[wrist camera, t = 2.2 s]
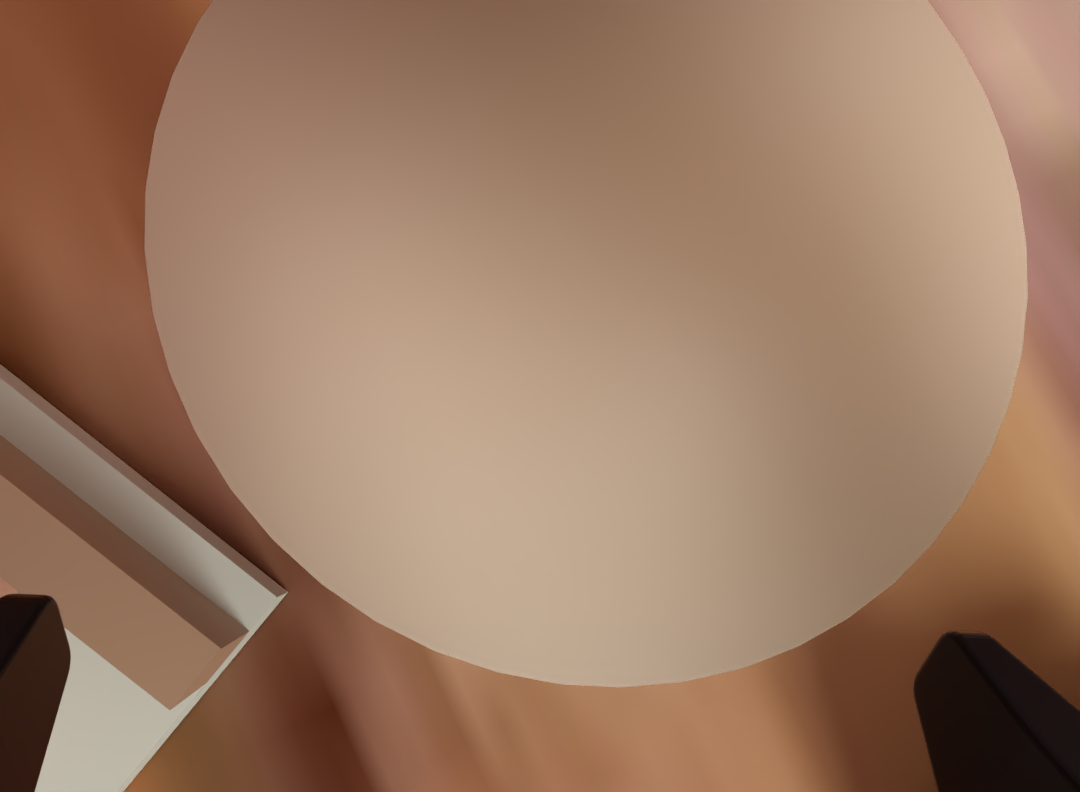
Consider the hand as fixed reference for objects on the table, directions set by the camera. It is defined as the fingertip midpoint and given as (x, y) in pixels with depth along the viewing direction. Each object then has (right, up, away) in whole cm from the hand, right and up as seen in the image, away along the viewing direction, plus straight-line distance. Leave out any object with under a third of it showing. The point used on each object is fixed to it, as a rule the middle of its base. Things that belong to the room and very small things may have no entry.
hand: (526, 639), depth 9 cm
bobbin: (-1, +2, +10) cm, 11 cm away
